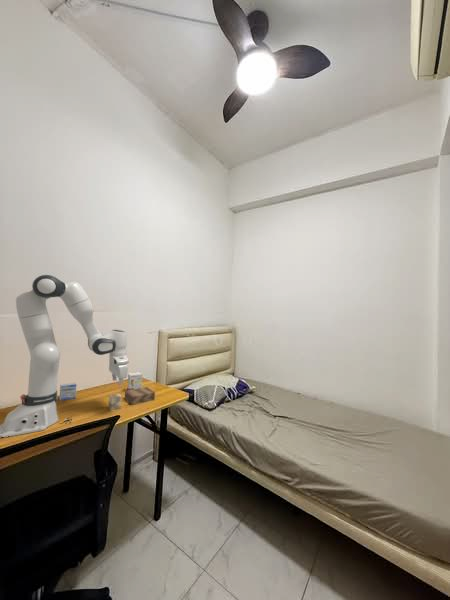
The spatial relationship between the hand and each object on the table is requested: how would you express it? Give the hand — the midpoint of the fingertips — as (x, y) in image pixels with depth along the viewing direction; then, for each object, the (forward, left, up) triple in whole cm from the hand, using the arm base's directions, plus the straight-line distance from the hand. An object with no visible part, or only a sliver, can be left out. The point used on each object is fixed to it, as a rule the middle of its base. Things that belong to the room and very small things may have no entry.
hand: (117, 382), depth 134 cm
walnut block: (+15, +4, -15) cm, 22 cm away
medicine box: (-19, +30, -15) cm, 38 cm away
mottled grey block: (-1, 0, -14) cm, 14 cm away
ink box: (+18, +20, -15) cm, 31 cm away
